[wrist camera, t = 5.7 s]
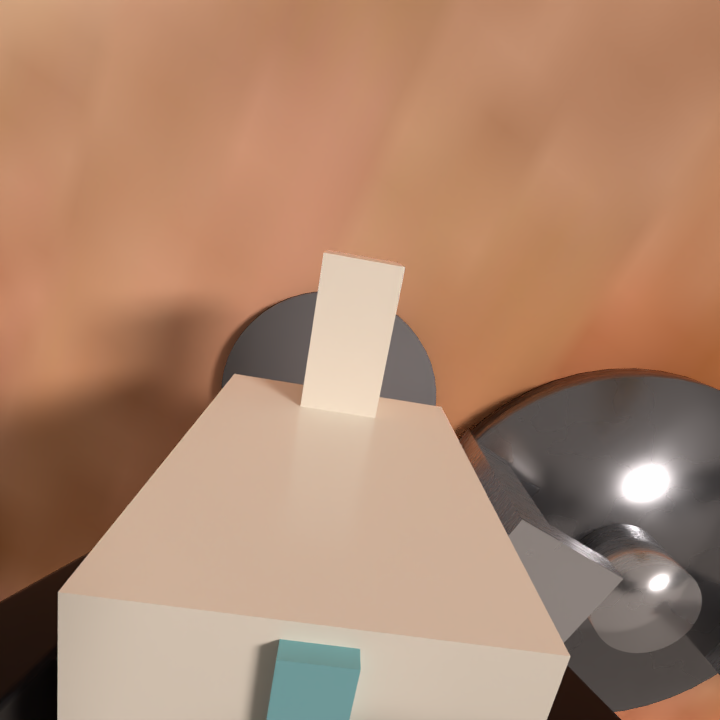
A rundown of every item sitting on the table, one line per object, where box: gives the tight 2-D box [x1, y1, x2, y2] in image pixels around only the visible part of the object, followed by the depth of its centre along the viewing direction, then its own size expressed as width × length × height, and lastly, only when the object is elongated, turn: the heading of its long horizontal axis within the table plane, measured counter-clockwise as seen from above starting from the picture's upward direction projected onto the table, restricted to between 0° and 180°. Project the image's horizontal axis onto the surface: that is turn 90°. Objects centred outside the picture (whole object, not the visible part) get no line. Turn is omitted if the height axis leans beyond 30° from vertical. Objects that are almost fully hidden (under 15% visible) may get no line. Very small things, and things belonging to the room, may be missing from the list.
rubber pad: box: [222, 292, 436, 406], centre depth 15 cm, size 7×7×1 cm
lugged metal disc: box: [459, 368, 720, 712], centre depth 15 cm, size 14×14×5 cm
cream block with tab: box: [57, 250, 570, 720], centre depth 7 cm, size 10×4×6 cm, turn 170°
